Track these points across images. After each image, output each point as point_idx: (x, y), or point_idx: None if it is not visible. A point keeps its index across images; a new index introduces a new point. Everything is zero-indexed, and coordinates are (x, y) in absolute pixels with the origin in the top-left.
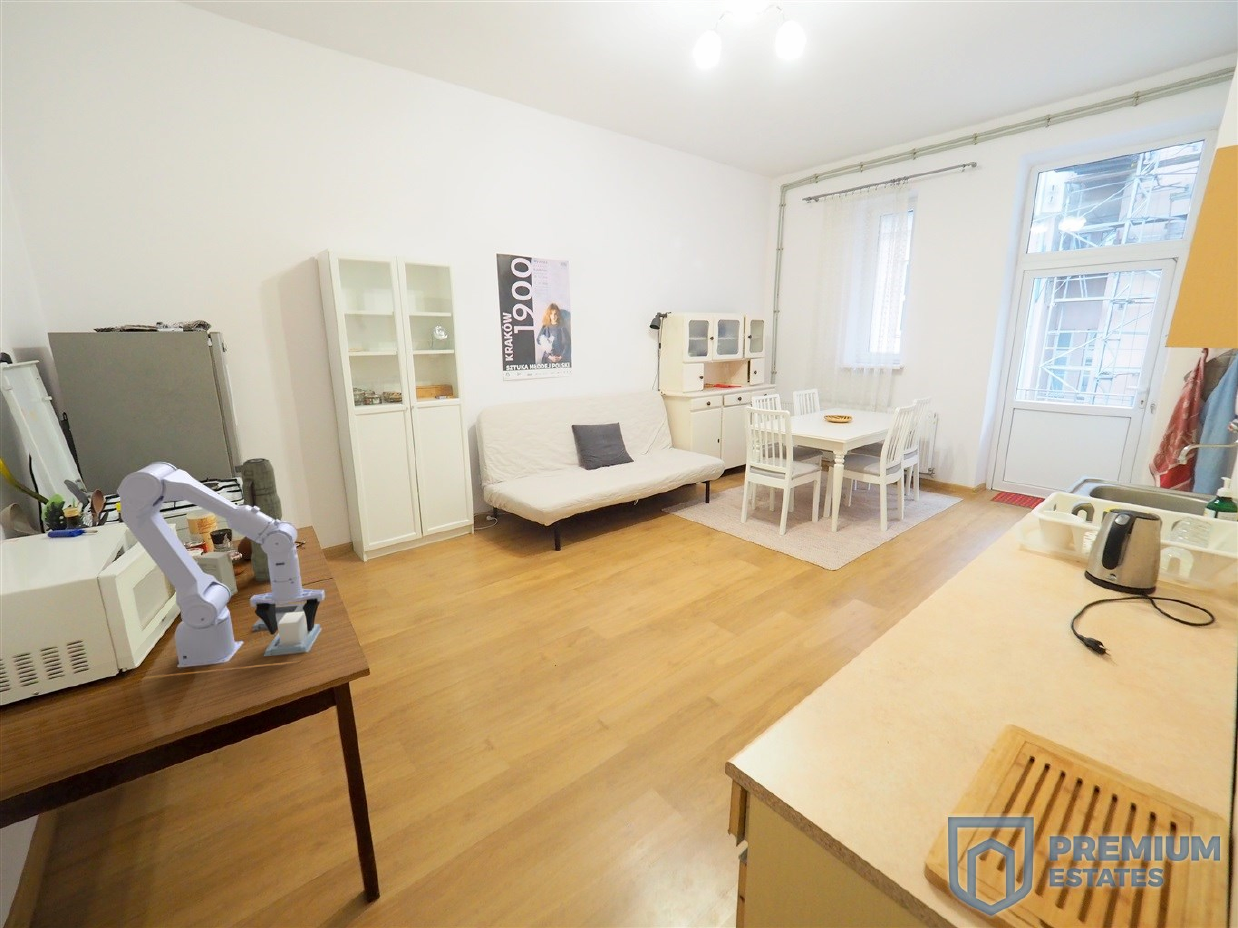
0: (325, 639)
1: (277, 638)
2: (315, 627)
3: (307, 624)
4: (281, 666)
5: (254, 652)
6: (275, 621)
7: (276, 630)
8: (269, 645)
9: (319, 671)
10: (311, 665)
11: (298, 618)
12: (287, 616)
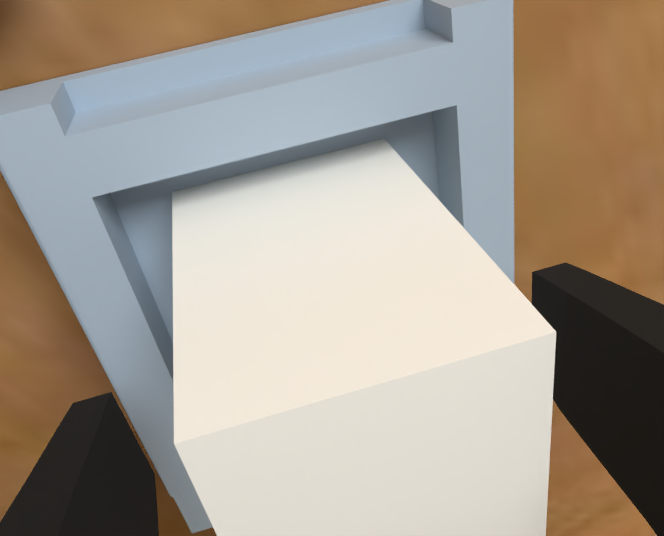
0: (583, 187)
1: (152, 372)
2: (491, 102)
3: (606, 457)
4: None
5: (10, 446)
6: (90, 521)
7: (123, 421)
8: (164, 473)
9: (625, 502)
10: (566, 475)
11: (523, 522)
12: (303, 524)
